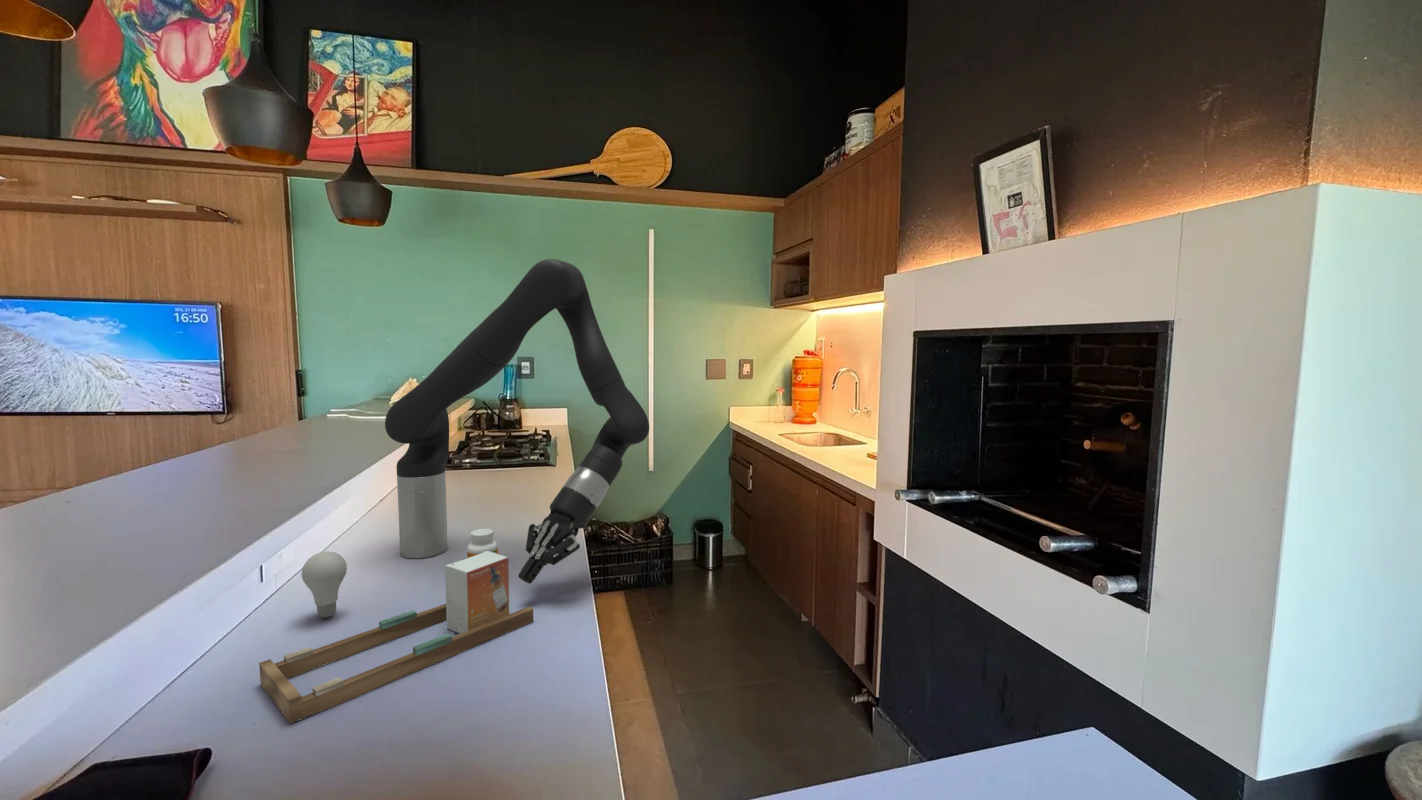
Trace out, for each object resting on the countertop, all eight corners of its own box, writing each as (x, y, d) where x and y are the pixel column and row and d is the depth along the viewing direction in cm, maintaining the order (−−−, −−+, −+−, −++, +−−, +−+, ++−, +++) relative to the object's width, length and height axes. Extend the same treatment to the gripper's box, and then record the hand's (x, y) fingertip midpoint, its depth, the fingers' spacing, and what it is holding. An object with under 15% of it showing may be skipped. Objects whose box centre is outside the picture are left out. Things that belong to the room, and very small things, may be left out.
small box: (467, 638, 88) (465, 572, 87) (445, 628, 91) (443, 564, 90) (510, 618, 95) (509, 556, 94) (488, 609, 98) (487, 549, 97)
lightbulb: (357, 612, 96) (354, 548, 95) (322, 629, 91) (319, 561, 90) (331, 606, 98) (327, 544, 97) (295, 622, 93) (291, 556, 92)
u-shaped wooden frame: (260, 684, 76) (259, 662, 76) (492, 599, 102) (491, 583, 102) (290, 724, 68) (289, 700, 68) (533, 621, 94) (533, 603, 94)
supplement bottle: (488, 588, 106) (486, 537, 105) (461, 586, 107) (460, 535, 106) (504, 577, 111) (502, 528, 110) (479, 574, 113) (477, 526, 112)
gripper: (546, 479, 109) (488, 560, 101) (592, 491, 101) (532, 581, 93) (570, 501, 114) (516, 580, 106) (615, 514, 106) (560, 601, 98)
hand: (524, 580), depth 99 cm, fingers closed
